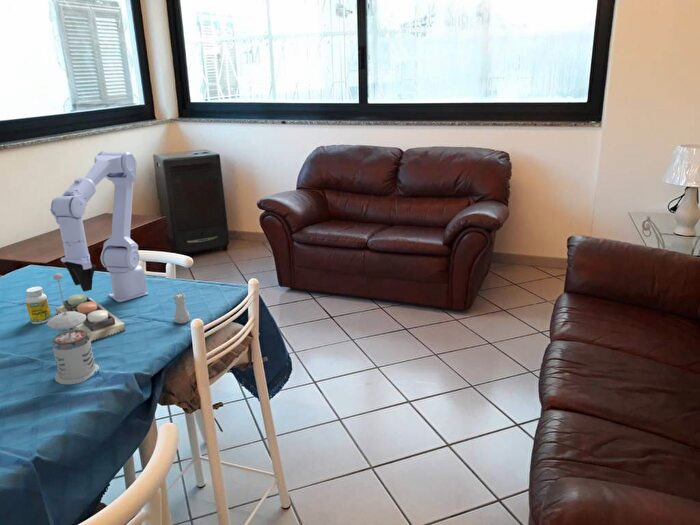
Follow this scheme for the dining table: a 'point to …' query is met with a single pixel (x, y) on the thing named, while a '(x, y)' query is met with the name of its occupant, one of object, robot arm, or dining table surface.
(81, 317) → the french press
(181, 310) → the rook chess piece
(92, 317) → the button cream
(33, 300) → the supplement bottle
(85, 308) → the button terracotta
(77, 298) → the button sage
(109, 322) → the button board
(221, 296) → the dining table surface
